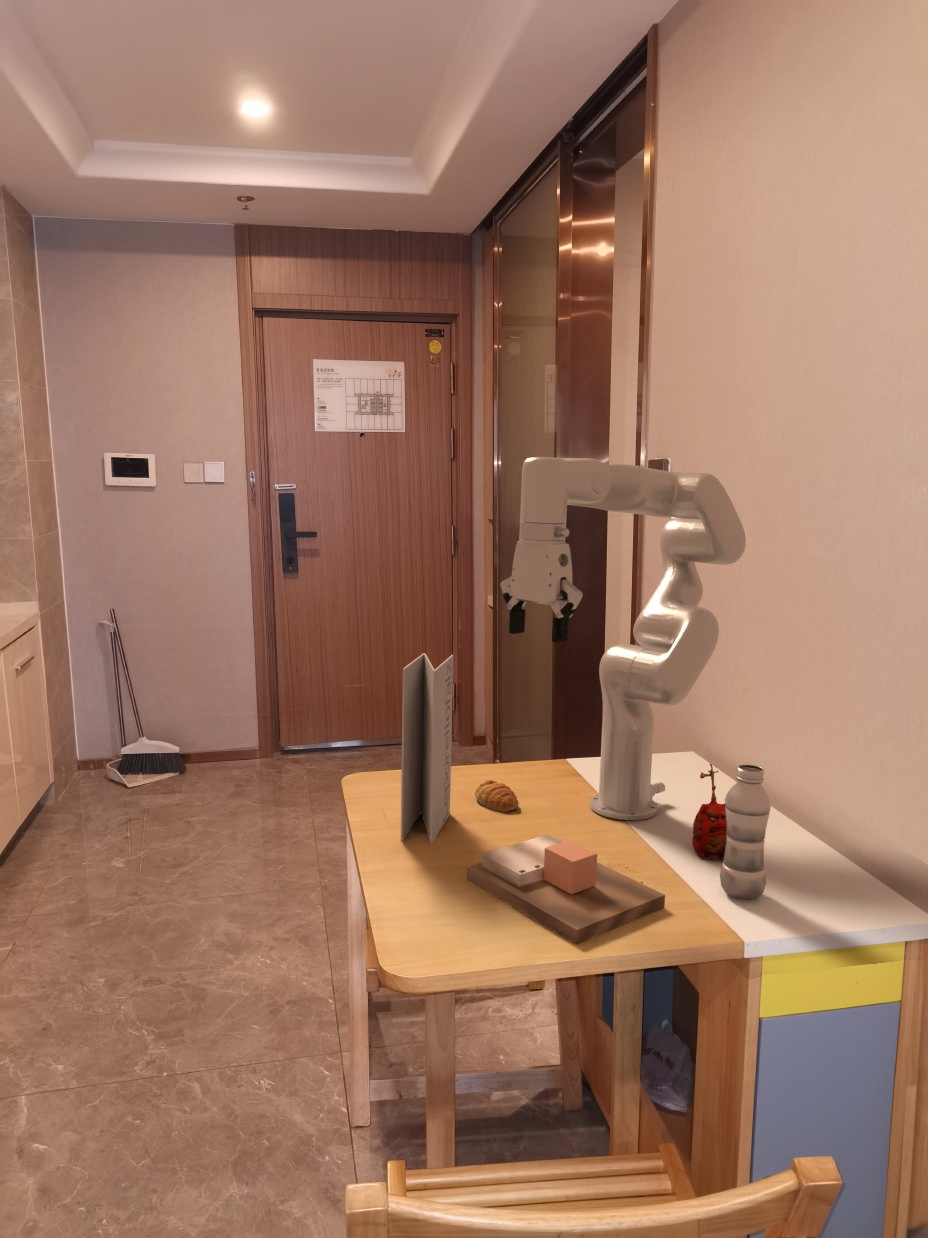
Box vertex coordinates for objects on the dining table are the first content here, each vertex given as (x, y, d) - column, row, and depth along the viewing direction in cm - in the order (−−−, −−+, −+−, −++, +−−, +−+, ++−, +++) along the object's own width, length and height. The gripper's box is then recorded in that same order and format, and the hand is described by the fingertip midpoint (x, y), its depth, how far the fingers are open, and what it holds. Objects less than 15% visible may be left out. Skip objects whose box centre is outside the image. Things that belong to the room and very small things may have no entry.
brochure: (431, 843, 153) (435, 671, 148) (400, 840, 154) (402, 668, 149) (449, 813, 167) (453, 654, 162) (421, 811, 168) (423, 653, 163)
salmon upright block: (567, 871, 138) (568, 840, 137) (595, 885, 133) (597, 853, 133) (543, 879, 135) (544, 848, 134) (571, 894, 130) (572, 862, 130)
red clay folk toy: (700, 864, 147) (706, 776, 145) (683, 846, 154) (689, 762, 152) (744, 862, 148) (750, 774, 146) (725, 845, 155) (731, 761, 153)
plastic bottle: (758, 909, 132) (769, 778, 129) (712, 897, 136) (721, 769, 132) (769, 892, 137) (779, 766, 134) (725, 881, 141) (734, 758, 138)
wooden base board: (552, 852, 150) (553, 829, 150) (664, 908, 132) (665, 881, 131) (467, 879, 140) (467, 854, 139) (576, 944, 121) (577, 915, 120)
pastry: (527, 810, 170) (527, 791, 169) (497, 816, 166) (498, 797, 166) (499, 795, 178) (499, 776, 177) (470, 801, 174) (470, 782, 174)
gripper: (598, 537, 143) (592, 643, 146) (520, 530, 156) (516, 628, 158) (567, 537, 138) (562, 647, 140) (489, 530, 151) (485, 631, 153)
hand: (537, 637), depth 149 cm, fingers open, 9 cm apart
